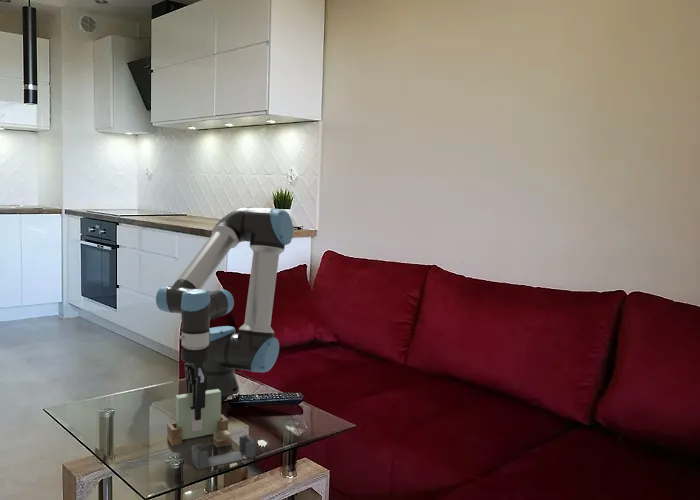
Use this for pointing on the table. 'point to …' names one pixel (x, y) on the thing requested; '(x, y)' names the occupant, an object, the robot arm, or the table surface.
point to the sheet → (209, 414)
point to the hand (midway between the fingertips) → (195, 427)
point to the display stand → (204, 461)
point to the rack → (176, 433)
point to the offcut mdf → (221, 435)
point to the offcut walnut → (222, 442)
